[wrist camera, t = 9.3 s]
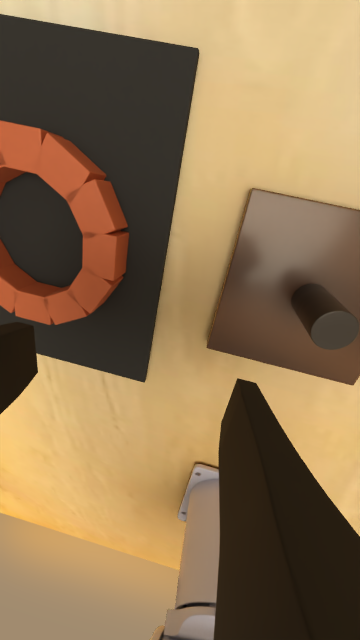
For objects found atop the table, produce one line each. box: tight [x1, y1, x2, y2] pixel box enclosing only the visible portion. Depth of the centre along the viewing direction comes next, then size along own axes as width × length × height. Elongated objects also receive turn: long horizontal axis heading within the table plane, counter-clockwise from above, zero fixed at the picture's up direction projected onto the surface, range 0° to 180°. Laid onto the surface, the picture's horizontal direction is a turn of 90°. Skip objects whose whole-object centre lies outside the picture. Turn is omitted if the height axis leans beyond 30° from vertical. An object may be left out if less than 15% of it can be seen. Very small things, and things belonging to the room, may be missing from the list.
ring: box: [0, 120, 129, 325], centre depth 16 cm, size 11×11×2 cm
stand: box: [207, 188, 360, 385], centre depth 14 cm, size 10×10×5 cm
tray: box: [0, 14, 199, 382], centre depth 17 cm, size 20×16×1 cm
